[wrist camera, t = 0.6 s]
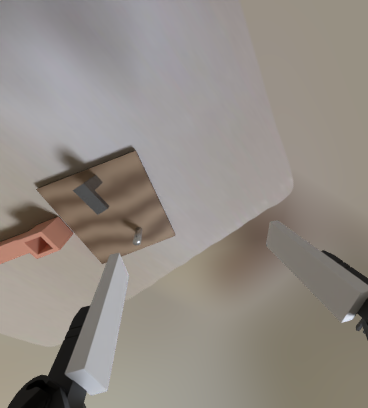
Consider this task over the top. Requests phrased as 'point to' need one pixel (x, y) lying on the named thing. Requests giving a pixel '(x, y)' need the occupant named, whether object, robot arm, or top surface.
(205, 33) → the top surface
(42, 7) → the top surface
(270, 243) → the robot arm
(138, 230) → the peg
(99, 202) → the bracket
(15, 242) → the link
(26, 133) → the top surface
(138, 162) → the board
